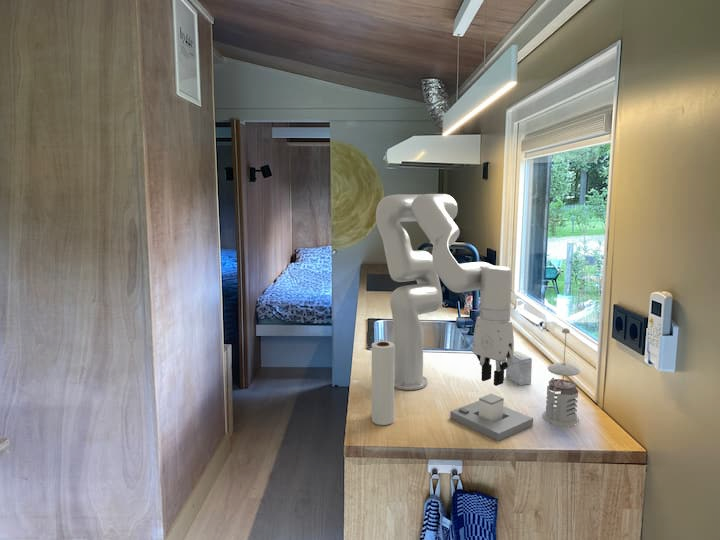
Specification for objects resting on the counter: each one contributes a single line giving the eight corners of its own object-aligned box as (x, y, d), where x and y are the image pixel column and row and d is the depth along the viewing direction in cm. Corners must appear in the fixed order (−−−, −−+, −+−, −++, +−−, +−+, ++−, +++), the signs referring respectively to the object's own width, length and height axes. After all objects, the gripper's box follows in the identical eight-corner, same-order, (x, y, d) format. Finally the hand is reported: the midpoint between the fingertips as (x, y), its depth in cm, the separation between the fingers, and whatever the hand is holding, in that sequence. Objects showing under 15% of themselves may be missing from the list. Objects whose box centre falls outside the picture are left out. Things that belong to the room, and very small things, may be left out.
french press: (586, 418, 136) (592, 328, 132) (567, 432, 128) (573, 337, 124) (551, 407, 143) (556, 321, 139) (531, 419, 135) (536, 329, 132)
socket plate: (450, 418, 136) (450, 409, 136) (484, 405, 145) (484, 396, 144) (498, 441, 124) (498, 431, 123) (532, 425, 132) (533, 416, 132)
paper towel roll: (388, 427, 131) (388, 348, 128) (367, 422, 134) (367, 345, 131) (399, 417, 137) (400, 341, 134) (379, 412, 140) (380, 338, 137)
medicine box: (531, 384, 160) (532, 358, 159) (519, 385, 159) (520, 359, 158) (517, 375, 168) (518, 350, 167) (505, 377, 167) (506, 351, 165)
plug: (478, 419, 134) (479, 398, 133) (490, 414, 137) (491, 393, 136) (490, 425, 131) (491, 403, 130) (502, 419, 134) (503, 398, 133)
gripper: (460, 310, 134) (458, 376, 137) (512, 322, 121) (509, 395, 124) (479, 306, 138) (477, 370, 141) (531, 318, 125) (527, 388, 128)
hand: (492, 381), depth 132 cm, fingers open, 3 cm apart
